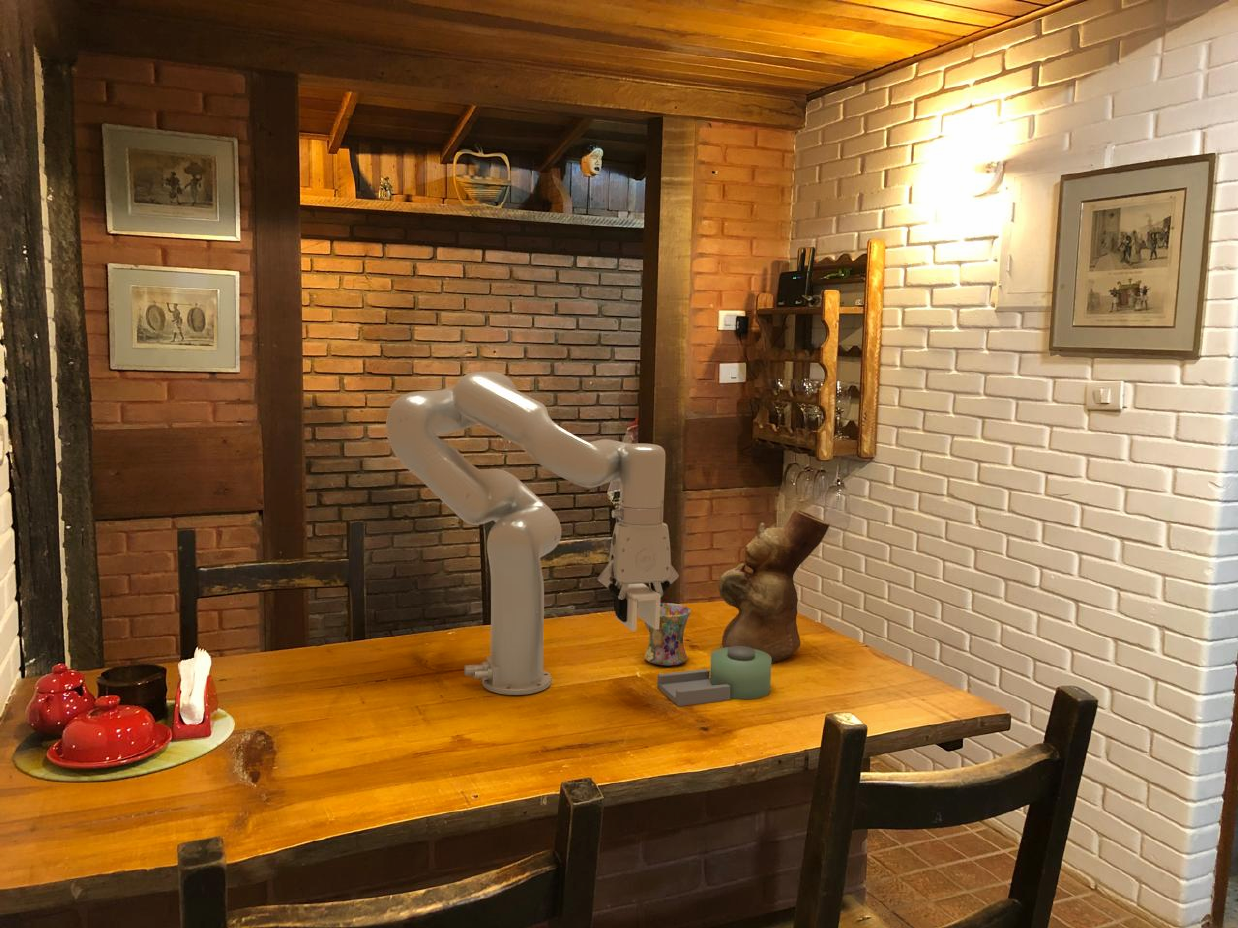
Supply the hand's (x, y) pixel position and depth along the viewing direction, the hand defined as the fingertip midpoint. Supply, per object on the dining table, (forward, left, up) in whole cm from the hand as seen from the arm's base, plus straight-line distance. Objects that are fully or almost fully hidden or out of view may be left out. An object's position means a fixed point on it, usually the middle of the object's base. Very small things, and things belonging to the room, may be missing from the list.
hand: (637, 617), depth 159 cm
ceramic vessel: (+36, +16, -15) cm, 42 cm away
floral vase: (+13, +19, -15) cm, 28 cm away
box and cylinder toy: (+16, 0, -15) cm, 22 cm away
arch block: (0, 0, -1) cm, 1 cm away
